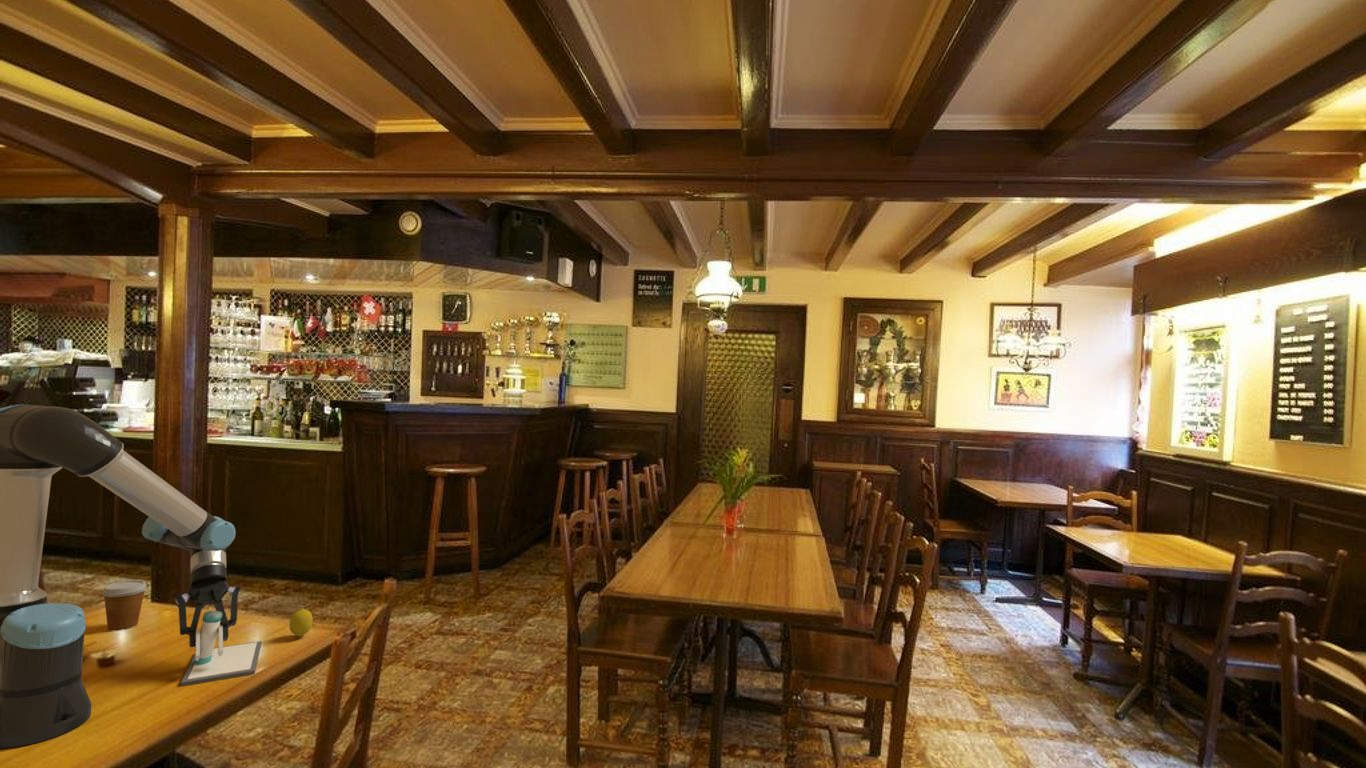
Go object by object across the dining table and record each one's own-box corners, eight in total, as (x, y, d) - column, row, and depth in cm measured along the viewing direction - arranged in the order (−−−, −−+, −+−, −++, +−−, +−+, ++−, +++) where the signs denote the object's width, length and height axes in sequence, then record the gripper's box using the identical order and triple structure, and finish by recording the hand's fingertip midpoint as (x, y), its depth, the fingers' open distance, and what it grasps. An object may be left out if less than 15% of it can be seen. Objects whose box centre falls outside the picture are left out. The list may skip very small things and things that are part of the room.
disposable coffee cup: (150, 625, 175) (152, 583, 175) (105, 635, 167) (108, 592, 167) (138, 618, 180) (140, 577, 180) (94, 627, 172) (97, 585, 172)
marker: (196, 665, 148) (207, 619, 147) (189, 658, 150) (200, 612, 149) (214, 661, 151) (225, 616, 151) (207, 654, 153) (218, 609, 153)
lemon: (314, 637, 170) (316, 608, 170) (292, 642, 166) (293, 613, 166) (308, 631, 174) (310, 603, 174) (286, 636, 170) (287, 608, 170)
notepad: (181, 686, 140) (181, 681, 140) (196, 653, 157) (196, 649, 157) (254, 673, 147) (254, 669, 147) (261, 644, 165) (261, 640, 165)
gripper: (246, 573, 167) (249, 654, 154) (166, 584, 156) (162, 672, 143) (249, 558, 163) (253, 640, 150) (167, 568, 152) (164, 657, 139)
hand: (209, 655), depth 146 cm, fingers closed on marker, 4 cm apart
